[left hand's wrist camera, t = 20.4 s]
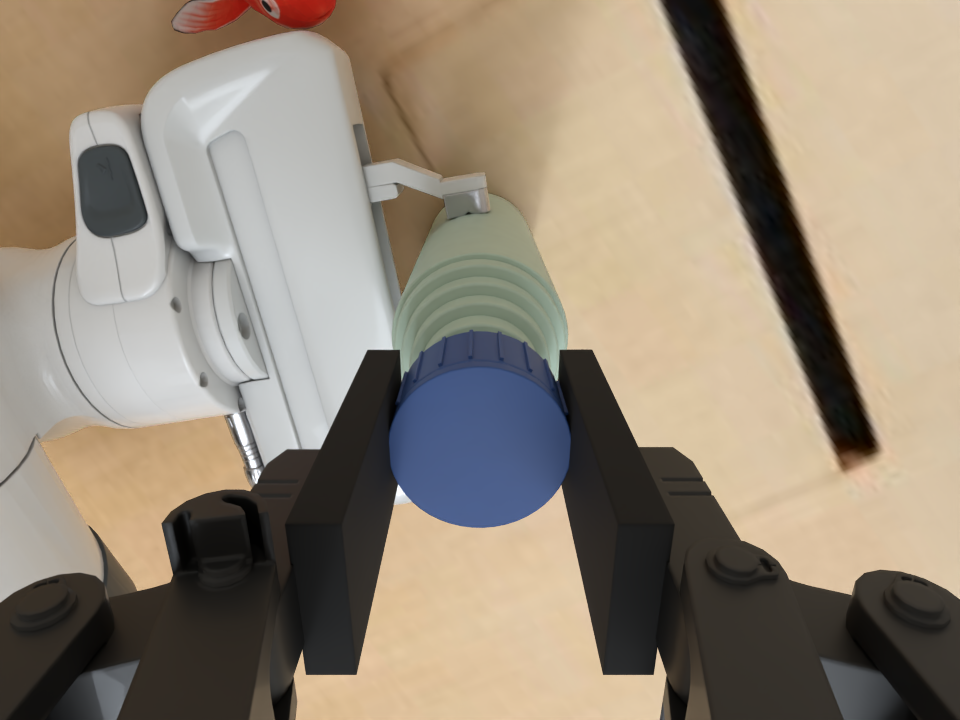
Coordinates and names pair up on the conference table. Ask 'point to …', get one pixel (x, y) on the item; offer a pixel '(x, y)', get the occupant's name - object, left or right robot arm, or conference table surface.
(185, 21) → the fish
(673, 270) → the conference table surface
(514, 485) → the cap
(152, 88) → the right robot arm
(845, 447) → the conference table surface
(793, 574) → the conference table surface
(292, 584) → the left robot arm
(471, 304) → the bottle
